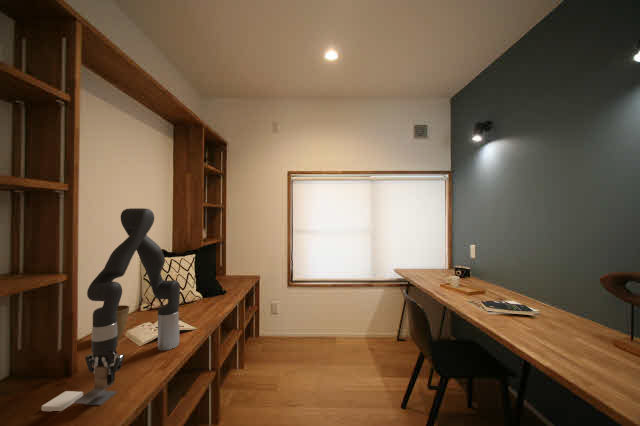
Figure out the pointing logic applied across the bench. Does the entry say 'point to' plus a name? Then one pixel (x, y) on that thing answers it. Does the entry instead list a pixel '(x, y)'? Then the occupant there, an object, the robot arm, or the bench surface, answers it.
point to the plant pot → (122, 318)
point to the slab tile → (62, 401)
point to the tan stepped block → (96, 385)
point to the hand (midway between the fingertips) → (104, 383)
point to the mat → (102, 398)
